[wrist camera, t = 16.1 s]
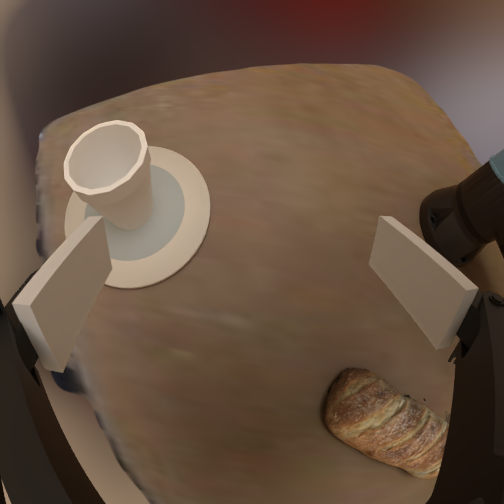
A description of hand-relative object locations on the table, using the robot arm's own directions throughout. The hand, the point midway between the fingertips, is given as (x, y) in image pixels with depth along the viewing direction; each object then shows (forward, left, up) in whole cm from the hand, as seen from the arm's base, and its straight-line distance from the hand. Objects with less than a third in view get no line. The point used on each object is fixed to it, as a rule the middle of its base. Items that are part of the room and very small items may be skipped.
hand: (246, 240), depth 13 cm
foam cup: (+1, -18, -24) cm, 30 cm away
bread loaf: (-5, +32, -26) cm, 41 cm away
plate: (+1, -18, -25) cm, 31 cm away
